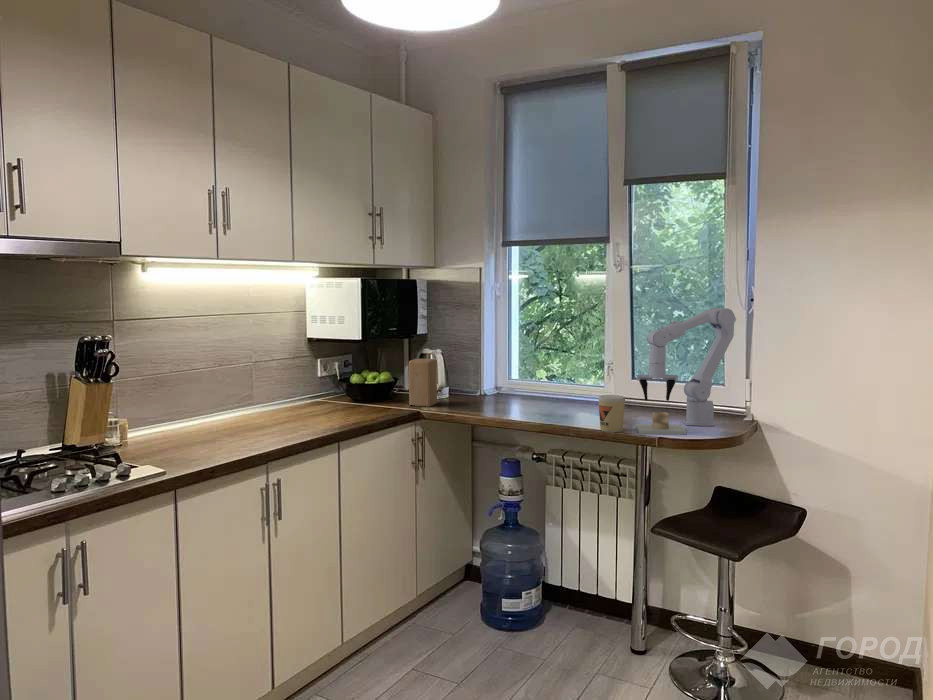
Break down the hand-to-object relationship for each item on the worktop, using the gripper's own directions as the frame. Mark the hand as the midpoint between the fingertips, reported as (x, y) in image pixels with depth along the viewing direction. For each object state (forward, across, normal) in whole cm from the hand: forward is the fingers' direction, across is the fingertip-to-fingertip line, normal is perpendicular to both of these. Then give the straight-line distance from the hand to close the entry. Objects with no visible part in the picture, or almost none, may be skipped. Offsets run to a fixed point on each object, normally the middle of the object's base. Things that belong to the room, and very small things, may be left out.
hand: (656, 400), depth 263 cm
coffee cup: (+10, -17, -10) cm, 22 cm away
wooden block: (+10, -94, +39) cm, 102 cm away
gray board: (+9, 0, -10) cm, 14 cm away
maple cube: (+8, 0, -10) cm, 13 cm away
